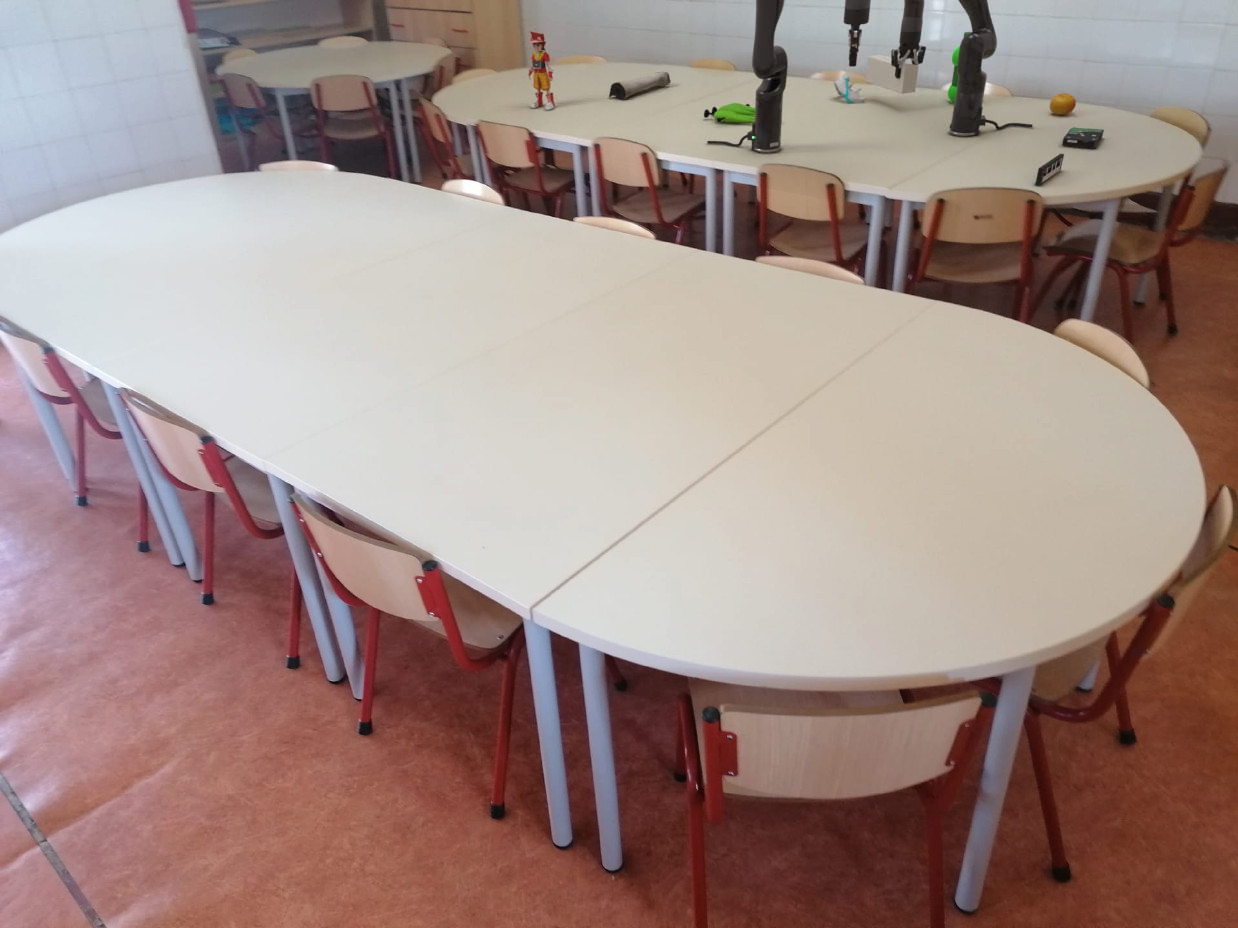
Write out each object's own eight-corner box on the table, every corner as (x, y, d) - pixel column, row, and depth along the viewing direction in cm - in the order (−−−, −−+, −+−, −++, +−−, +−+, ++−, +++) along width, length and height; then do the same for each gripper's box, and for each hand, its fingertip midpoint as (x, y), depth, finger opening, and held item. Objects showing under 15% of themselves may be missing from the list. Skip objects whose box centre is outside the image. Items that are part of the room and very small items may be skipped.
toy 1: (525, 109, 381) (517, 32, 364) (534, 104, 388) (527, 28, 371) (550, 110, 377) (543, 32, 360) (559, 105, 384) (553, 28, 367)
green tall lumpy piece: (978, 101, 353) (990, 32, 339) (960, 106, 348) (971, 36, 334) (957, 97, 360) (967, 29, 346) (939, 102, 355) (949, 33, 341)
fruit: (1046, 106, 329) (1061, 86, 326) (1044, 110, 336) (1059, 90, 333) (1065, 119, 327) (1081, 99, 324) (1063, 122, 335) (1078, 102, 332)
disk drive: (1095, 149, 295) (1102, 137, 305) (1097, 141, 294) (1104, 129, 304) (1061, 146, 300) (1069, 134, 310) (1063, 138, 298) (1071, 126, 309)
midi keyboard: (1039, 185, 269) (1043, 168, 266) (1035, 184, 270) (1038, 168, 267) (1060, 170, 279) (1064, 154, 277) (1056, 169, 280) (1060, 153, 277)
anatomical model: (829, 74, 368) (853, 67, 367) (832, 100, 374) (856, 93, 373) (840, 82, 356) (864, 75, 355) (842, 109, 362) (867, 102, 361)
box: (915, 92, 344) (918, 66, 338) (901, 94, 342) (905, 68, 337) (878, 79, 363) (880, 54, 358) (865, 81, 362) (867, 56, 356)
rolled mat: (651, 76, 408) (662, 61, 399) (662, 93, 408) (674, 79, 400) (605, 92, 391) (616, 77, 383) (617, 110, 391) (628, 95, 383)
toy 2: (694, 121, 346) (765, 134, 333) (695, 107, 343) (767, 120, 330) (725, 110, 366) (794, 122, 353) (727, 97, 363) (796, 108, 351)
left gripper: (844, 3, 278) (840, 59, 287) (844, 10, 267) (840, 68, 276) (869, 2, 277) (864, 58, 286) (870, 9, 265) (865, 68, 275)
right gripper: (900, 33, 328) (894, 81, 338) (933, 28, 332) (927, 77, 341) (888, 30, 334) (883, 78, 344) (921, 25, 338) (915, 73, 347)
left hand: (852, 63), depth 281 cm, fingers open, 8 cm apart
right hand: (905, 77), depth 342 cm, fingers closed on box, 6 cm apart
